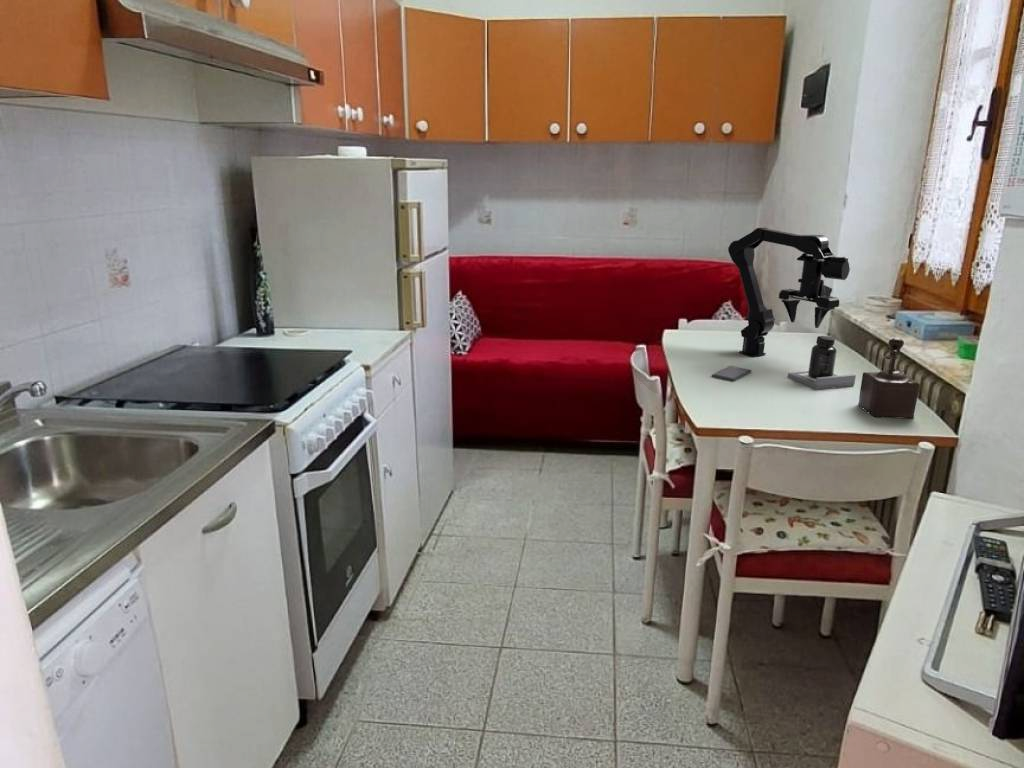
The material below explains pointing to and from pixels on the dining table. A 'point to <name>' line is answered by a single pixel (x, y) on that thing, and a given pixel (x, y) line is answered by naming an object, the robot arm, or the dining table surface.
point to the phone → (732, 373)
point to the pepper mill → (889, 389)
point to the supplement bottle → (822, 358)
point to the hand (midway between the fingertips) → (804, 325)
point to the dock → (823, 380)
